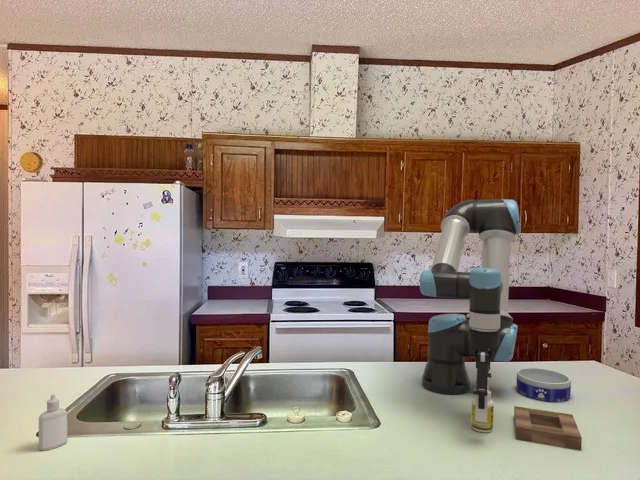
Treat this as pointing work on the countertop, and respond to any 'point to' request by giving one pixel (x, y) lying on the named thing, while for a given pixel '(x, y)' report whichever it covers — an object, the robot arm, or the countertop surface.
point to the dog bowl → (543, 384)
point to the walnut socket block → (547, 427)
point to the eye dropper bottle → (52, 426)
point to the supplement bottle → (487, 425)
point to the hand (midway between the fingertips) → (482, 411)
